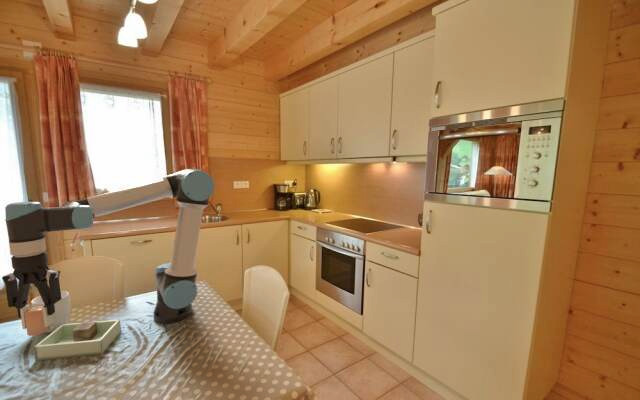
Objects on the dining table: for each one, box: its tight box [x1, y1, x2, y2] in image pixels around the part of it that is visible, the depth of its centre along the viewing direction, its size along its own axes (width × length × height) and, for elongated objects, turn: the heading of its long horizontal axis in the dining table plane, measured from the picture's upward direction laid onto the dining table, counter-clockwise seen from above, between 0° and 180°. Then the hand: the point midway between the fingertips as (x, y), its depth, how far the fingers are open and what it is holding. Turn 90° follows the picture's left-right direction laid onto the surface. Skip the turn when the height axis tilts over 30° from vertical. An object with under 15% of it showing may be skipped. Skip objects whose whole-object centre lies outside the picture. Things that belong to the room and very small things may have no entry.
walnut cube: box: [73, 321, 97, 342], centre depth 105 cm, size 5×5×5 cm
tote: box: [33, 319, 122, 362], centre depth 102 cm, size 20×14×5 cm
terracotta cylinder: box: [25, 306, 50, 337], centre depth 87 cm, size 5×5×7 cm
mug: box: [30, 290, 71, 334], centre depth 110 cm, size 15×11×13 cm
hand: (38, 325), depth 88 cm, fingers closed on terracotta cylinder, 5 cm apart
